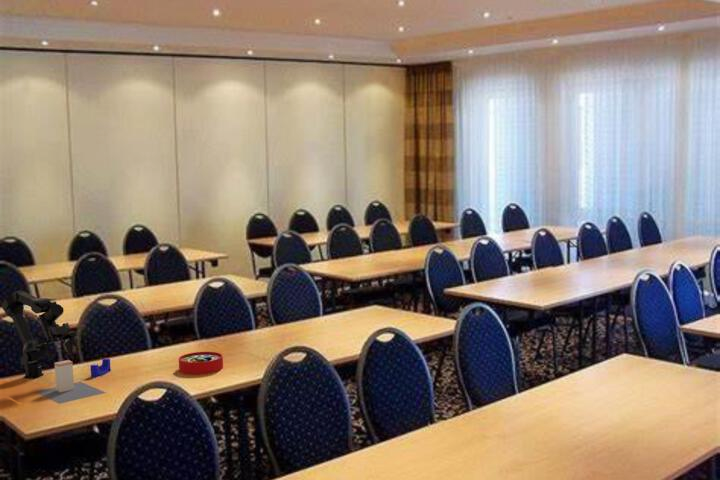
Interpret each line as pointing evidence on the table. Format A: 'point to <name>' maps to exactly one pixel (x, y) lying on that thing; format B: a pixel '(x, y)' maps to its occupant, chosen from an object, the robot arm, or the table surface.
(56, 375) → the cream block
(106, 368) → the cable clip
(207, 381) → the table surface
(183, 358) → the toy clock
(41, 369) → the robot arm
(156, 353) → the table surface
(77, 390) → the rubber mat
